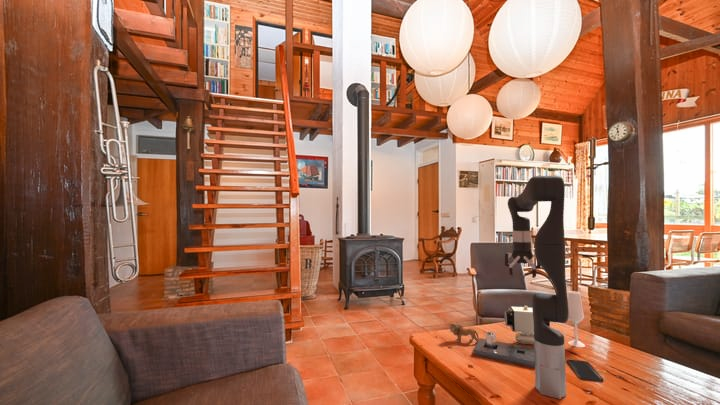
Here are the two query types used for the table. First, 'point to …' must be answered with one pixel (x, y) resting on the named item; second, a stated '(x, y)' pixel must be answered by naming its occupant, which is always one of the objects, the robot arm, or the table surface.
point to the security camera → (521, 323)
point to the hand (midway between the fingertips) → (522, 276)
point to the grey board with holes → (506, 353)
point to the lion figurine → (463, 332)
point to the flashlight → (490, 340)
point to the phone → (584, 370)
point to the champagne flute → (575, 314)
